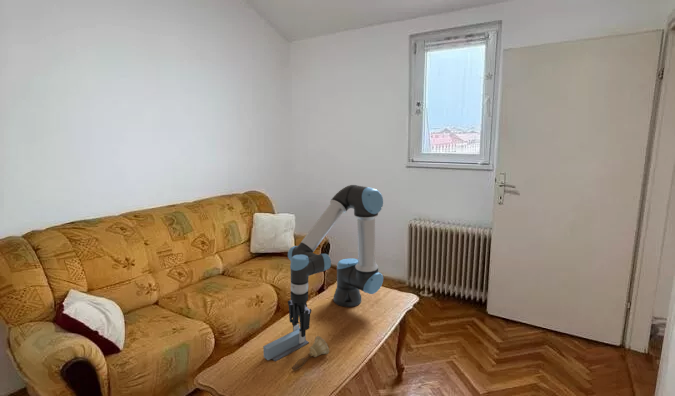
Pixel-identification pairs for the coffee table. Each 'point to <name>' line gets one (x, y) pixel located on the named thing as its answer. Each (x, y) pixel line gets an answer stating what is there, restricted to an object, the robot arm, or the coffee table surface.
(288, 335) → the stick
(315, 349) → the hand bell
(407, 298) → the coffee table surface
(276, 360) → the mat
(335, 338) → the coffee table surface
